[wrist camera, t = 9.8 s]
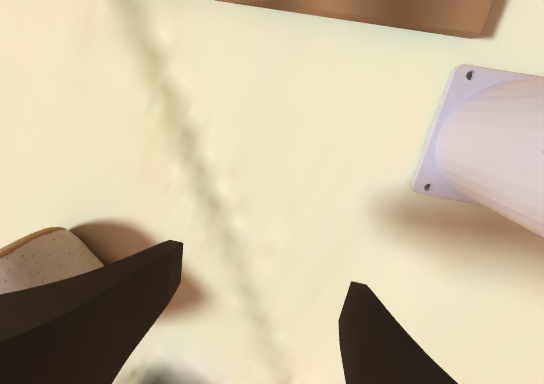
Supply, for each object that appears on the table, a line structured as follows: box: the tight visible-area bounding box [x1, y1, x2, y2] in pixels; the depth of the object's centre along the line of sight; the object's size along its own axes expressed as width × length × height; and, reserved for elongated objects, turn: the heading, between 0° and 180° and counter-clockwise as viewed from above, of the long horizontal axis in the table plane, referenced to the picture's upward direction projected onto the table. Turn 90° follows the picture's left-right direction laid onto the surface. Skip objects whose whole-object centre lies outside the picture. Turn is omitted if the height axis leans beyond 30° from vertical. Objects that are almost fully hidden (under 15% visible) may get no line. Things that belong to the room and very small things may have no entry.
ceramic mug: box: [0, 227, 105, 294], centre depth 21 cm, size 11×8×8 cm
